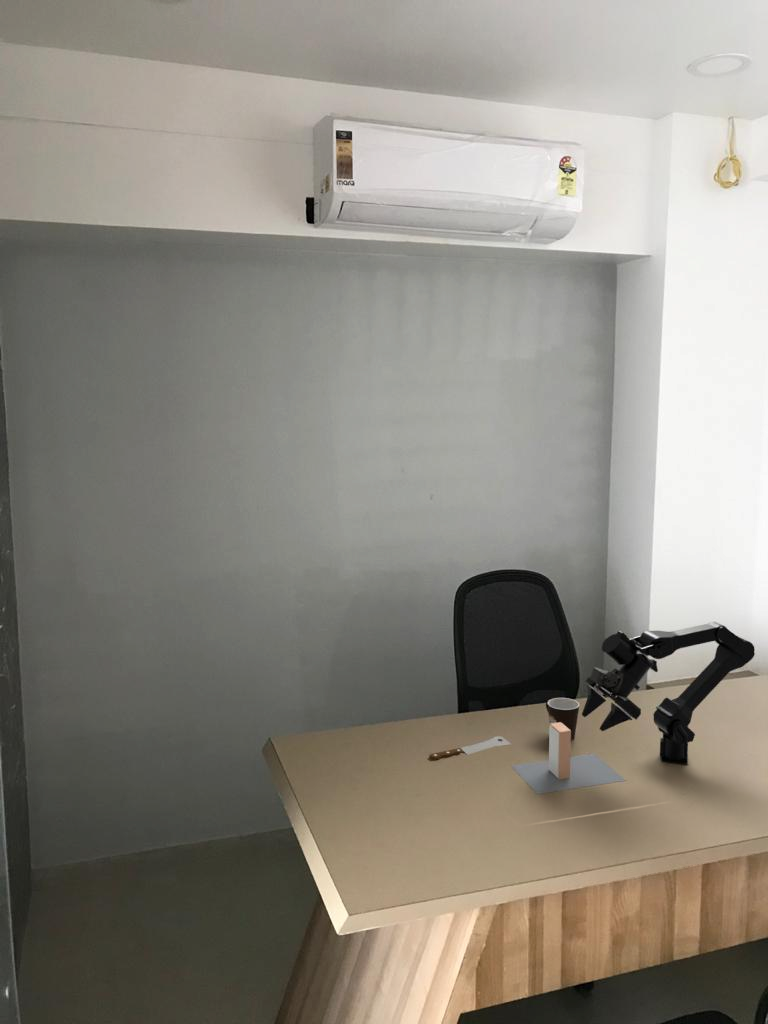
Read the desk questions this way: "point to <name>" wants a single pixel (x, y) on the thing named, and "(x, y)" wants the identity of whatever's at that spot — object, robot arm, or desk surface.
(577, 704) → the coffee mug
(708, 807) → the desk surface
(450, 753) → the kitchen cleaver
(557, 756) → the tall peach block
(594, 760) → the felt mat
